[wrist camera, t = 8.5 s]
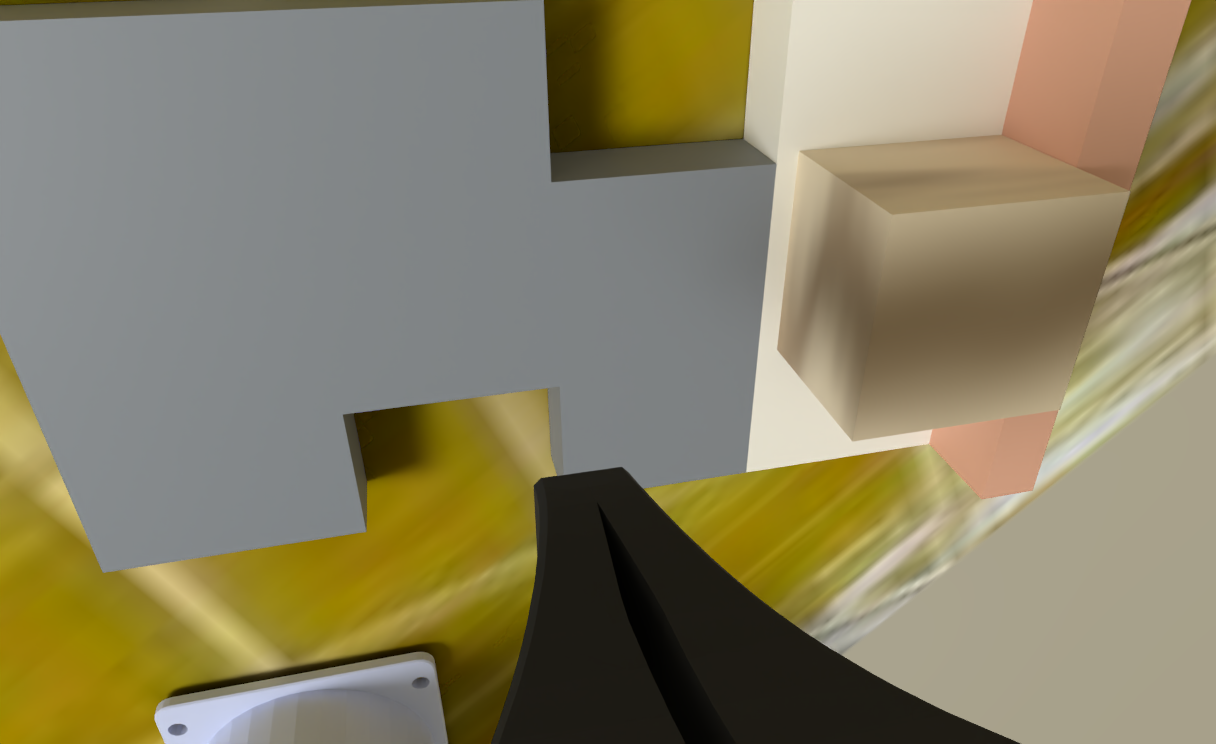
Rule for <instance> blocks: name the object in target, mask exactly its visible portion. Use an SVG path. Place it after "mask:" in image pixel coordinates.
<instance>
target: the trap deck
mask: <svg viewBox="0 0 1216 744" xmlns="http://www.w3.org/2000/svg"><path fill="white" fill-rule="evenodd" d="M1190 3H1191V0H754V9H753V22H752V35H751V48H750V61H749V74H748V87H747V100H746V113H745V126H744V139H735V140H721V141H708V142H695V143H681V144H668V145H655V146H642V147H628V148H615V149H602V150H588V151H575V152H562V153H550V140H549V116H548V92H547V69H546V45H545V21H544V0H137V1H110V2H82V3H55V4H27V5H0V334H1V337H2V339H3V341H4V344H5V346H6V348H7V350H8V353H9V355H10V357H11V360H12V362H13V364H14V367H15V369H16V371H17V374H18V376H19V378H20V381H21V383H22V385H23V388H24V390H25V392H26V395H27V397H28V399H29V402H30V404H31V406H32V409H33V411H34V413H35V416H36V418H37V420H38V423H39V425H40V427H41V430H42V432H43V434H44V437H45V439H46V441H47V444H48V446H49V448H50V450H51V453H52V455H53V457H54V460H55V462H56V464H57V467H58V469H59V471H60V474H61V476H62V478H63V481H64V483H65V485H66V488H67V490H68V492H69V495H70V497H71V499H72V502H73V504H74V506H75V509H76V511H77V513H78V516H79V518H80V520H81V523H82V525H83V527H84V530H85V532H86V534H87V537H88V539H89V541H90V544H91V546H92V548H93V551H94V553H95V555H96V557H97V560H98V562H99V564H100V567H101V569H102V571H103V573H104V572H110V571H117V570H123V569H130V568H136V567H143V566H149V565H155V564H162V563H168V562H175V561H181V560H187V559H194V558H200V557H207V556H213V555H219V554H226V553H232V552H239V551H245V550H251V549H258V548H264V547H271V546H277V545H284V544H290V543H296V542H303V541H309V540H316V539H322V538H328V537H335V536H341V535H348V534H354V533H360V532H366V522H367V480H366V475H365V470H364V464H363V459H362V454H361V449H360V444H359V439H358V434H357V428H356V423H355V418H354V413H358V412H366V411H374V410H382V409H389V408H397V407H405V406H413V405H420V404H428V403H436V402H443V401H451V400H459V399H467V398H474V397H482V396H490V395H497V394H505V393H513V392H521V391H528V390H536V389H544V388H548V402H549V421H550V441H551V456H552V460H553V463H554V466H555V470H556V473H557V476H560V475H567V474H574V473H581V472H588V471H595V470H602V469H609V468H616V467H623V468H624V469H625V470H626V471H628V472H629V473H630V475H631V476H632V477H633V478H634V479H635V480H636V481H637V483H638V484H639V485H640V486H641V487H642V488H649V487H655V486H662V485H668V484H674V483H681V482H687V481H694V480H700V479H706V478H713V477H719V476H726V475H732V474H739V473H745V472H751V471H758V470H764V469H771V468H777V467H783V466H790V465H796V464H803V463H809V462H815V461H822V460H828V459H835V458H841V457H847V456H854V455H860V454H867V453H873V452H880V451H886V450H892V449H899V448H905V447H912V446H918V445H924V444H930V445H931V446H932V447H933V448H934V450H935V451H936V452H937V453H938V454H939V455H940V456H941V457H942V458H943V459H944V460H945V461H946V462H947V463H948V464H949V465H950V466H951V467H952V468H953V470H954V471H955V472H956V473H957V474H958V475H959V476H960V477H961V478H962V479H963V480H964V481H965V482H966V483H967V484H968V485H969V486H970V487H971V488H972V490H973V491H974V492H975V493H976V494H977V495H978V496H979V497H980V498H981V499H986V498H992V497H998V496H1003V495H1009V494H1015V493H1021V492H1027V491H1032V490H1033V487H1034V484H1035V481H1036V478H1037V475H1038V472H1039V469H1040V466H1041V463H1042V460H1043V457H1044V453H1045V450H1046V447H1047V444H1048V441H1049V438H1050V435H1051V432H1052V429H1053V426H1054V423H1055V420H1056V416H1057V413H1058V410H1055V411H1049V412H1042V413H1036V414H1029V415H1023V416H1016V417H1010V418H1003V419H997V420H990V421H984V422H977V423H971V424H964V425H958V426H951V427H945V428H938V429H932V430H925V431H919V432H912V433H906V434H899V435H893V436H886V437H880V438H873V439H866V440H860V441H853V442H852V441H851V439H850V438H849V437H848V436H847V434H846V433H845V432H844V431H843V430H842V428H841V427H840V426H839V425H838V424H837V422H836V421H835V420H834V419H833V417H832V416H831V415H830V414H829V413H828V411H827V410H826V409H825V408H824V406H823V405H822V404H821V403H820V402H819V400H818V399H817V398H816V397H815V396H814V394H813V393H812V392H811V391H810V389H809V388H808V387H807V386H806V385H805V383H804V382H803V381H802V380H801V378H800V377H799V376H798V375H797V374H796V372H795V371H794V370H793V369H792V368H791V366H790V365H789V364H788V363H787V361H786V360H785V359H784V358H783V357H782V355H781V354H780V353H779V352H778V350H777V345H778V336H779V327H780V318H781V308H782V299H783V290H784V281H785V272H786V263H787V254H788V245H789V236H790V227H791V218H792V209H793V200H794V191H795V182H796V173H797V164H798V155H799V151H804V150H817V149H829V148H841V147H854V146H866V145H879V144H891V143H904V142H916V141H928V140H941V139H953V138H966V137H978V136H991V135H1003V136H1006V137H1008V138H1010V139H1012V140H1015V141H1017V142H1019V143H1022V144H1024V145H1026V146H1028V147H1031V148H1033V149H1035V150H1037V151H1040V152H1042V153H1044V154H1047V155H1049V156H1051V157H1053V158H1056V159H1058V160H1060V161H1063V162H1065V163H1067V164H1069V165H1072V166H1074V167H1076V168H1079V169H1081V170H1083V171H1085V172H1088V173H1090V174H1092V175H1094V176H1097V177H1099V178H1101V179H1104V180H1106V181H1108V182H1110V183H1113V184H1115V185H1117V186H1120V187H1122V188H1124V189H1126V190H1129V191H1130V188H1131V185H1132V182H1133V179H1134V176H1135V173H1136V169H1137V166H1138V163H1139V160H1140V157H1141V154H1142V151H1143V148H1144V145H1145V142H1146V139H1147V136H1148V132H1149V129H1150V126H1151V123H1152V120H1153V117H1154V114H1155V111H1156V108H1157V105H1158V102H1159V98H1160V95H1161V92H1162V89H1163V86H1164V83H1165V80H1166V77H1167V74H1168V71H1169V68H1170V65H1171V61H1172V58H1173V55H1174V52H1175V49H1176V46H1177V43H1178V40H1179V37H1180V34H1181V31H1182V27H1183V24H1184V21H1185V18H1186V15H1187V12H1188V9H1189V6H1190Z"/></svg>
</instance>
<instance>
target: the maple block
mask: <svg viewBox="0 0 1216 744" xmlns="http://www.w3.org/2000/svg"><path fill="white" fill-rule="evenodd" d="M1130 192H1131V191H1129V190H1126V189H1124V188H1122V187H1120V186H1117V185H1115V184H1113V183H1110V182H1108V181H1106V180H1104V179H1101V178H1099V177H1097V176H1094V175H1092V174H1090V173H1088V172H1085V171H1083V170H1081V169H1079V168H1076V167H1074V166H1072V165H1069V164H1067V163H1065V162H1063V161H1060V160H1058V159H1056V158H1053V157H1051V156H1049V155H1047V154H1044V153H1042V152H1040V151H1037V150H1035V149H1033V148H1031V147H1028V146H1026V145H1024V144H1022V143H1019V142H1017V141H1015V140H1012V139H1010V138H1008V137H1006V136H1003V135H991V136H978V137H966V138H953V139H941V140H928V141H916V142H904V143H891V144H879V145H866V146H854V147H841V148H829V149H817V150H804V151H799V155H798V164H797V173H796V182H795V191H794V200H793V209H792V218H791V227H790V236H789V245H788V254H787V263H786V272H785V281H784V290H783V299H782V308H781V318H780V327H779V336H778V345H777V350H778V352H779V353H780V354H781V355H782V357H783V358H784V359H785V360H786V361H787V363H788V364H789V365H790V366H791V368H792V369H793V370H794V371H795V372H796V374H797V375H798V376H799V377H800V378H801V380H802V381H803V382H804V383H805V385H806V386H807V387H808V388H809V389H810V391H811V392H812V393H813V394H814V396H815V397H816V398H817V399H818V400H819V402H820V403H821V404H822V405H823V406H824V408H825V409H826V410H827V411H828V413H829V414H830V415H831V416H832V417H833V419H834V420H835V421H836V422H837V424H838V425H839V426H840V427H841V428H842V430H843V431H844V432H845V433H846V434H847V436H848V437H849V438H850V439H851V441H852V442H853V441H860V440H866V439H873V438H880V437H886V436H893V435H899V434H906V433H912V432H919V431H925V430H932V429H938V428H945V427H951V426H958V425H964V424H971V423H977V422H984V421H990V420H997V419H1003V418H1010V417H1016V416H1023V415H1029V414H1036V413H1042V412H1049V411H1055V410H1060V408H1061V405H1062V402H1063V399H1064V396H1065V393H1066V390H1067V387H1068V384H1069V380H1070V377H1071V374H1072V371H1073V368H1074V365H1075V362H1076V359H1077V356H1078V353H1079V350H1080V346H1081V343H1082V340H1083V337H1084V334H1085V331H1086V328H1087V325H1088V322H1089V319H1090V316H1091V313H1092V309H1093V306H1094V303H1095V300H1096V297H1097V294H1098V291H1099V288H1100V285H1101V282H1102V279H1103V275H1104V272H1105V269H1106V266H1107V263H1108V260H1109V257H1110V254H1111V251H1112V248H1113V245H1114V241H1115V238H1116V235H1117V232H1118V229H1119V226H1120V223H1121V220H1122V217H1123V214H1124V211H1125V207H1126V204H1127V201H1128V198H1129V195H1130Z"/></svg>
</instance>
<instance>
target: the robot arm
mask: <svg viewBox="0 0 1216 744" xmlns="http://www.w3.org/2000/svg"><path fill="white" fill-rule="evenodd" d="M534 499H535V518H536V537H537V555H538V557H537V567H536V576H535V583H534V589H533V594H532V600H531V605H530V610H529V615H528V621H527V626H526V630H525V635H524V639H523V643H522V647H521V651H520V655H519V659H518V662H517V666H516V669H515V673H514V676H513V680H512V683H511V686H510V689H509V692H508V695H507V698H506V702H505V705H504V708H503V711H502V714H501V717H500V720H499V723H498V725H497V728H496V731H495V734H494V736H493V739H492V742H491V744H1020V743H1018V742H1016V741H1013V740H1011V739H1009V738H1006V737H1004V736H1002V735H999V734H997V733H994V732H992V731H990V730H987V729H985V728H983V727H981V726H978V725H976V724H974V723H971V722H969V721H966V720H964V719H962V718H959V717H957V716H955V715H952V714H950V713H948V712H946V711H944V710H942V709H939V708H937V707H935V706H933V705H931V704H929V703H927V702H925V701H923V700H921V699H919V698H918V697H916V696H913V695H911V694H909V693H908V692H906V691H903V690H902V689H899V688H898V687H896V686H894V685H892V684H890V683H888V682H886V681H885V680H883V679H881V678H879V677H877V676H875V675H874V674H872V673H870V672H869V671H867V670H865V669H864V668H862V667H860V666H858V665H857V664H855V663H853V662H852V661H850V660H848V659H847V658H845V657H843V656H842V655H840V654H838V653H837V652H835V651H833V650H831V649H830V648H828V647H826V646H825V645H823V644H822V643H820V642H819V641H817V640H816V639H814V638H813V637H811V636H810V635H808V634H807V633H805V632H804V631H802V630H801V629H799V628H798V627H797V626H795V625H794V624H792V623H791V622H790V621H788V620H787V619H785V618H784V617H783V616H781V615H780V614H778V613H777V612H776V611H775V610H773V609H772V608H771V607H769V606H768V605H767V604H765V603H764V602H763V601H762V600H760V599H759V598H758V597H757V596H755V595H754V594H753V593H752V592H750V591H749V590H748V589H747V588H746V587H744V586H743V585H742V584H741V583H740V582H738V581H737V580H736V579H735V578H734V577H732V576H731V575H730V574H729V573H728V572H727V571H726V570H724V569H723V568H722V567H721V566H720V565H719V564H718V563H717V562H715V561H714V560H713V559H712V558H711V557H710V556H709V555H708V554H707V553H706V552H705V551H704V550H703V549H702V548H700V547H699V546H698V545H697V544H696V543H695V542H694V541H693V540H692V539H691V538H690V537H689V536H688V535H687V534H686V533H685V532H684V531H683V530H682V529H681V528H680V527H679V526H678V525H677V524H676V523H675V522H674V521H673V520H672V519H671V518H670V517H669V516H668V515H667V514H666V513H665V512H664V511H663V510H662V509H661V508H660V507H659V506H658V505H657V503H656V502H655V501H654V500H653V499H652V498H651V497H650V496H649V495H648V494H647V493H646V491H645V490H644V489H643V488H642V487H641V486H640V485H639V484H638V483H637V481H636V480H635V479H634V478H633V477H632V476H631V475H630V473H629V472H628V471H626V470H625V469H624V468H623V467H616V468H609V469H602V470H595V471H588V472H581V473H574V474H567V475H560V476H553V477H546V478H541V479H540V480H539V481H538V482H537V483H536V484H535V485H534ZM419 677H424V678H420V679H417V678H419ZM155 722H156V724H157V726H158V729H159V731H160V733H161V736H162V738H163V740H164V742H165V744H448V738H447V732H446V726H445V720H444V714H443V707H442V701H441V695H440V689H439V683H438V677H437V671H436V665H435V660H434V658H433V656H432V655H430V654H429V653H426V652H413V653H408V654H403V655H397V656H392V657H386V658H381V659H375V660H370V661H365V662H359V663H354V664H348V665H343V666H338V667H332V668H327V669H321V670H316V671H311V672H305V673H300V674H294V675H289V676H283V677H278V678H273V679H267V680H262V681H256V682H251V683H246V684H240V685H235V686H229V687H224V688H219V689H213V690H208V691H202V692H197V693H191V694H186V695H181V696H175V697H171V698H168V699H164V700H163V701H162V702H160V703H159V704H158V706H157V709H156V712H155Z"/></svg>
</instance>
